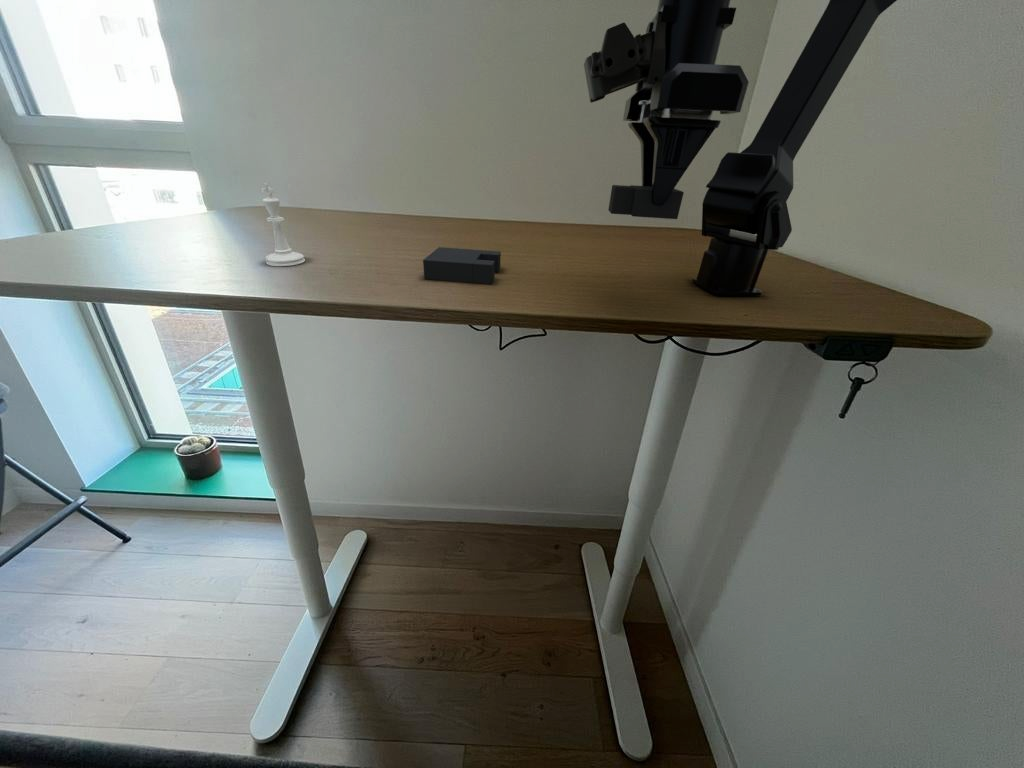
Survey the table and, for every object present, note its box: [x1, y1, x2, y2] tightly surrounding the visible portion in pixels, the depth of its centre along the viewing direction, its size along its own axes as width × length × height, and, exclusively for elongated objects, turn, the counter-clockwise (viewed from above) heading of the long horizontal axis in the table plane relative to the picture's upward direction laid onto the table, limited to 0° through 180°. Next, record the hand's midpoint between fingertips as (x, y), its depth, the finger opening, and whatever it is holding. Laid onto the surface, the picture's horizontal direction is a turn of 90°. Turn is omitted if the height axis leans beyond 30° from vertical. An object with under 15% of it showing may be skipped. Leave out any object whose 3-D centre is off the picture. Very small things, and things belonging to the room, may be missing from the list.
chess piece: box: [260, 182, 306, 267], centre depth 54 cm, size 5×5×10 cm
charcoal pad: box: [422, 246, 502, 285], centre depth 54 cm, size 9×8×2 cm
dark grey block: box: [607, 184, 685, 220], centre depth 41 cm, size 6×4×2 cm
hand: (651, 202), depth 41 cm, fingers closed on dark grey block, 4 cm apart
